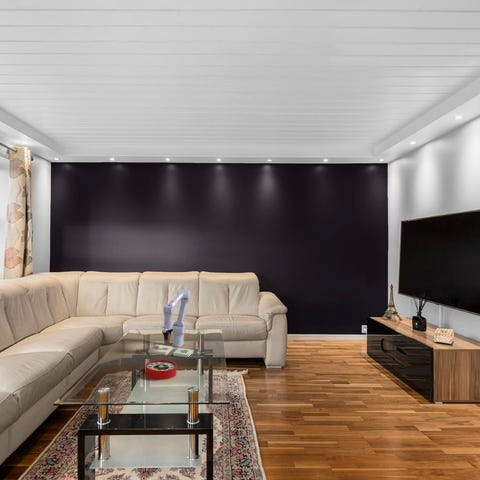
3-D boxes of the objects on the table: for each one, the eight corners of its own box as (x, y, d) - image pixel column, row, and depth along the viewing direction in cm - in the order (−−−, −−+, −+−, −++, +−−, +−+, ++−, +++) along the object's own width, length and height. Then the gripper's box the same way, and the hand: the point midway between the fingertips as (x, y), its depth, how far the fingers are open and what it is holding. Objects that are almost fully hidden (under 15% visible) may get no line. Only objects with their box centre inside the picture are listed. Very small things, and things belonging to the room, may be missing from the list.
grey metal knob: (154, 348, 317) (154, 345, 317) (159, 349, 316) (159, 345, 316) (152, 350, 313) (152, 346, 313) (157, 351, 312) (157, 347, 312)
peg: (165, 342, 315) (165, 332, 314) (170, 343, 314) (170, 333, 314) (163, 344, 311) (163, 333, 311) (168, 345, 310) (168, 334, 310)
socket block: (155, 346, 322) (155, 344, 322) (172, 349, 319) (172, 346, 319) (148, 352, 308) (148, 349, 308) (166, 355, 306) (166, 352, 305)
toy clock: (143, 370, 259) (148, 359, 279) (142, 379, 260) (147, 367, 280) (175, 371, 261) (178, 360, 281) (174, 380, 261) (177, 369, 281)
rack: (178, 350, 317) (178, 347, 317) (193, 352, 315) (193, 349, 315) (172, 355, 306) (173, 352, 305) (188, 357, 303) (188, 354, 303)
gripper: (166, 318, 319) (165, 336, 320) (159, 323, 305) (158, 341, 306) (175, 319, 318) (174, 337, 319) (168, 324, 304) (167, 342, 305)
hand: (167, 339), depth 312 cm, fingers closed on peg, 4 cm apart
